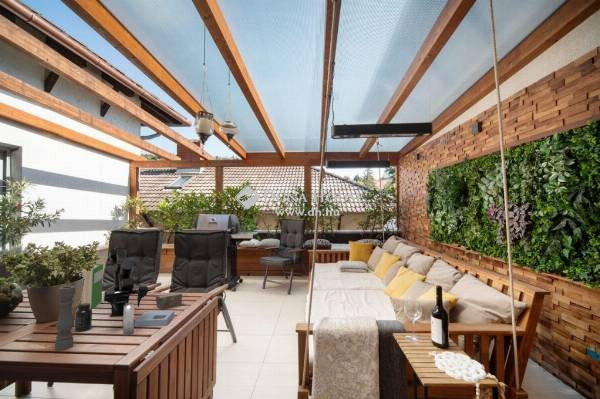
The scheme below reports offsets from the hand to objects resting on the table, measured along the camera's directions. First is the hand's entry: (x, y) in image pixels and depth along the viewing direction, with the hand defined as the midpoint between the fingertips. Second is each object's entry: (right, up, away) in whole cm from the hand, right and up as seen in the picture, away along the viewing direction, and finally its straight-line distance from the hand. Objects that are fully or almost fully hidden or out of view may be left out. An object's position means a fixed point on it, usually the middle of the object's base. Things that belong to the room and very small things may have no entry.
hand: (127, 308), depth 145 cm
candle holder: (-16, -10, -19) cm, 27 cm away
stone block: (+3, -13, +37) cm, 40 cm away
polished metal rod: (+2, -11, -4) cm, 11 cm away
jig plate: (+7, -12, +13) cm, 19 cm away
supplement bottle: (-23, -11, +1) cm, 25 cm away
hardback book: (-46, -13, +39) cm, 62 cm away
